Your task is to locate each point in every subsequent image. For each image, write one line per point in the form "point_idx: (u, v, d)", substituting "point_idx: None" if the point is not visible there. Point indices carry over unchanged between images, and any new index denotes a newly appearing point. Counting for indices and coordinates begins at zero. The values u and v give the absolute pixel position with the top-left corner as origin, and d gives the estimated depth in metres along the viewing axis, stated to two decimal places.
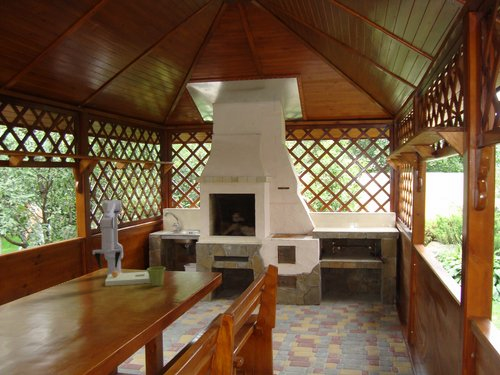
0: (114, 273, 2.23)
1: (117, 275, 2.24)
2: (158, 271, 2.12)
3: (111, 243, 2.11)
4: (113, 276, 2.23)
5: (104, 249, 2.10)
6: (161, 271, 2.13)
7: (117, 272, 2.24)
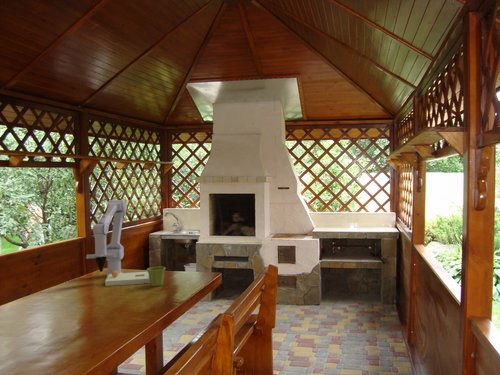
0: (114, 273, 2.23)
1: (117, 275, 2.24)
2: (158, 271, 2.12)
3: (104, 248, 2.22)
4: (113, 276, 2.23)
5: (97, 254, 2.20)
6: (161, 271, 2.13)
7: (117, 272, 2.24)
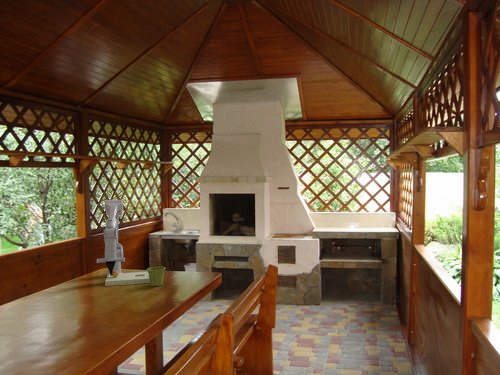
0: (114, 273, 2.23)
1: (117, 275, 2.24)
2: (158, 271, 2.12)
3: (114, 252, 2.23)
4: (113, 276, 2.23)
5: (107, 258, 2.21)
6: (161, 271, 2.13)
7: (117, 272, 2.24)
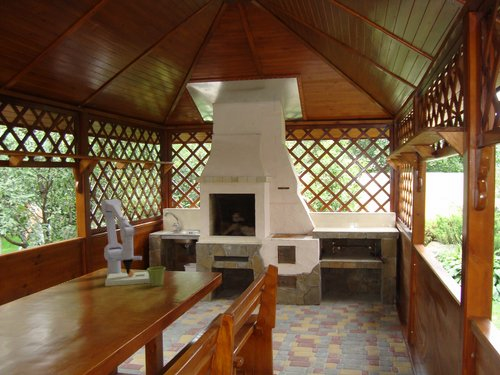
0: (130, 273, 2.24)
1: (133, 271, 2.26)
2: (158, 271, 2.12)
3: (131, 251, 2.24)
4: (132, 275, 2.25)
5: (125, 256, 2.23)
6: (161, 271, 2.13)
7: (130, 270, 2.25)
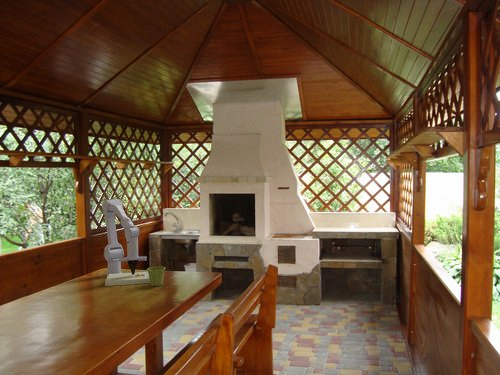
0: (138, 276, 2.26)
1: None
2: (158, 271, 2.12)
3: (136, 251, 2.25)
4: None
5: (130, 257, 2.24)
6: (161, 271, 2.13)
7: None
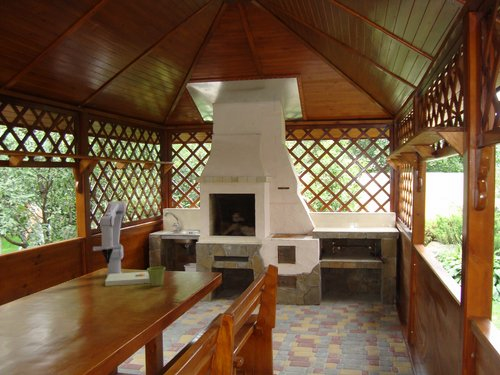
0: None
1: None
2: (158, 271, 2.12)
3: (111, 240, 2.23)
4: None
5: (104, 246, 2.22)
6: (161, 271, 2.13)
7: None
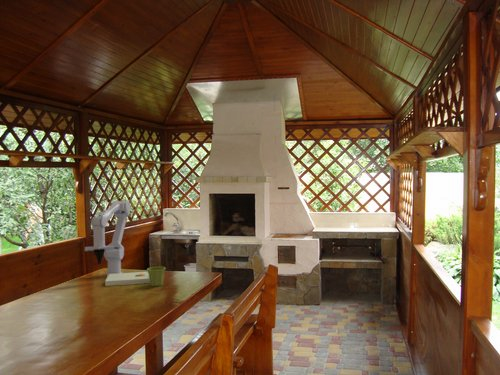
0: None
1: None
2: (158, 271, 2.12)
3: (102, 240, 2.23)
4: (138, 276, 2.27)
5: (96, 246, 2.22)
6: (161, 271, 2.13)
7: None
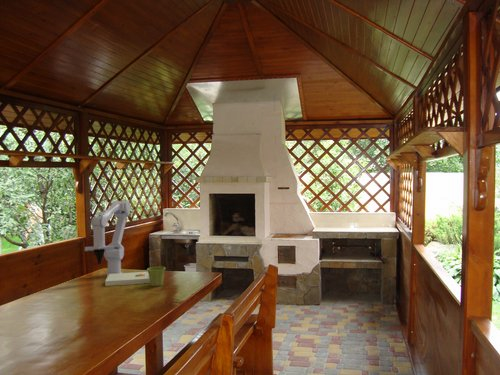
0: None
1: None
2: (158, 271, 2.12)
3: (102, 240, 2.23)
4: (138, 276, 2.27)
5: (96, 246, 2.22)
6: (161, 271, 2.13)
7: None
